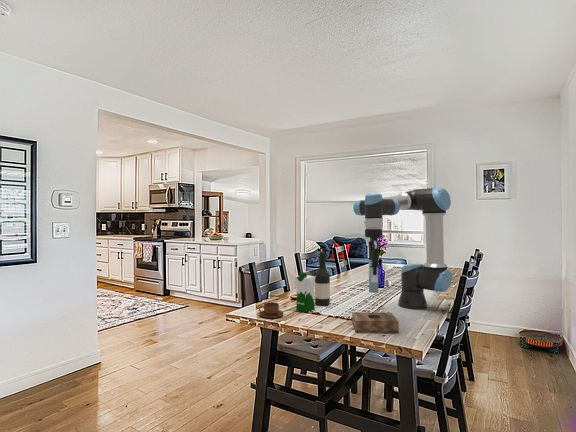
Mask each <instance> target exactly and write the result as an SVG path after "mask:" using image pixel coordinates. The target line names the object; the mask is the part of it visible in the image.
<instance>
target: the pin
mask: <svg viewBox="0 0 576 432" xmlns="http://www.w3.org/2000/svg"><path fill="white" fill-rule="evenodd" d="M370 266H372V260H369V259H368V293H373V294H376V293H379V281H378V282H371V267H370Z"/></svg>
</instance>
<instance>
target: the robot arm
mask: <svg viewBox="0 0 576 432" xmlns="http://www.w3.org/2000/svg"><path fill="white" fill-rule="evenodd" d="M451 201H452V200H451V195H450V194H449V191H448V190H447V189H445V188H444V187H431V188H429V187H428V188H417V189H412V190H409V191H404V192H400V193H399V194H397V195H390V196H383V194H381V193H367V194H365V196H364V199H359V200H355V202H354V203H353V207H352V208H353V212H354V214H355V215H356V216H362V217H363V216H364V220H363V224H364V228H365V229H364V237H365V238H369V241H368V261H369V260H372V266H370V267H371V282H378V283H379V266H380V264H379V263H380V262H379V258H380V257H379V256H380V255H379V254H380V253H379V249H380V243H379V241H378V239H379V238H383V229H382V228H383V216H396V215H397V214H398V213H399V212H400V211H422V212H421V213H422V215H423V216H424V217H425V218H424V219H425V251H426V252H425V254H426V255H425V256H426V257H425V258H426V261H425V263H424V264H421V263H416V264H415V263H414V264H413V263H412V264H405V265H402V267H401V272H400V274H401V281H400V282H401V293H400V295H399V298H398V303H397V304H398V307H400V308H403V309H410V310H422V309H423V310H425V309H427V307H428V302H427V299H426V297H425V293H424V290H427V291H431V292H432V291H434V292H436V293H437V292H440V293H444V292H447V291H448V290H449V289H450V287H451V285H452V282H453V273H452V271H451V270H449V269H448V265H447V264H446V263H445V254H444V253H445V252H444V250H445V249H444V248H445V247H444V245H445V243H444V216H445V215H446V214H447V210H449V209H450V207H451V204H452V202H451Z"/></svg>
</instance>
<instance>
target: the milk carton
mask: <svg viewBox="0 0 576 432" xmlns="http://www.w3.org/2000/svg"><path fill="white" fill-rule="evenodd" d="M315 277H316V276H315V275H314V276H313V275H308V273H307V272H303V271H302V272H299V273H298V275H296V276H295V277H294V278H295V283H296V307H295V310H296V311H298V312H302V313H306V314H307V313H310V312H313V311H312V310H314V311H315V309H316V307H315V306H316V305H315ZM309 311H310V312H309Z"/></svg>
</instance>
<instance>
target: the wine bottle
mask: <svg viewBox="0 0 576 432" xmlns="http://www.w3.org/2000/svg"><path fill="white" fill-rule="evenodd" d="M314 276H316V277H315V282H314V306H316V305H317V307H328V305H329V306H330V305H331V301H330V300H331V295H330V294H331V293H330V291H331V289H330V288H331V286H330V285H331V284H330V283H331V281H330V280H331V277H330V276H331V274H330V273H329V271H328V270H327V268H326V252H325V251H323V250H321V251H319V253H318V269H317V271H316V272H315V274H314Z"/></svg>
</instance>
